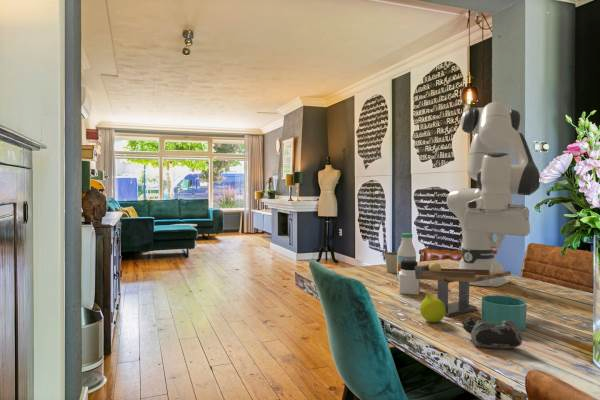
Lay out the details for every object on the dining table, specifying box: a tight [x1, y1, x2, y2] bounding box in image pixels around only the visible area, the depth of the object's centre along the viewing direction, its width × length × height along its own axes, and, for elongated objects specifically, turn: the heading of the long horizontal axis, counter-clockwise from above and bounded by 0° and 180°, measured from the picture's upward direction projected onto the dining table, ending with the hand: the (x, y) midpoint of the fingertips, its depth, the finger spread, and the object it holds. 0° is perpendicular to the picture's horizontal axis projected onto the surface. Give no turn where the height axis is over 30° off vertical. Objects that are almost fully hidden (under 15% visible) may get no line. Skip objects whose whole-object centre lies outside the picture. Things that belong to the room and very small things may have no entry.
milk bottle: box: [396, 232, 417, 282], centre depth 172 cm, size 8×8×20 cm
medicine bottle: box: [398, 260, 420, 295], centre depth 153 cm, size 7×7×12 cm
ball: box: [429, 262, 442, 271], centre depth 135 cm, size 4×4×4 cm
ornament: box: [419, 290, 446, 323], centre depth 118 cm, size 7×7×10 cm
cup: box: [480, 294, 527, 332], centre depth 116 cm, size 11×11×7 cm
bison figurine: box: [461, 316, 523, 350], centre depth 102 cm, size 12×7×10 cm
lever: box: [415, 263, 512, 284], centre depth 133 cm, size 19×22×5 cm
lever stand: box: [436, 280, 478, 318], centre depth 129 cm, size 14×7×10 cm, turn 123°
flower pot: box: [383, 251, 398, 274], centre depth 190 cm, size 9×9×9 cm
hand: (494, 248), depth 128 cm, fingers closed
